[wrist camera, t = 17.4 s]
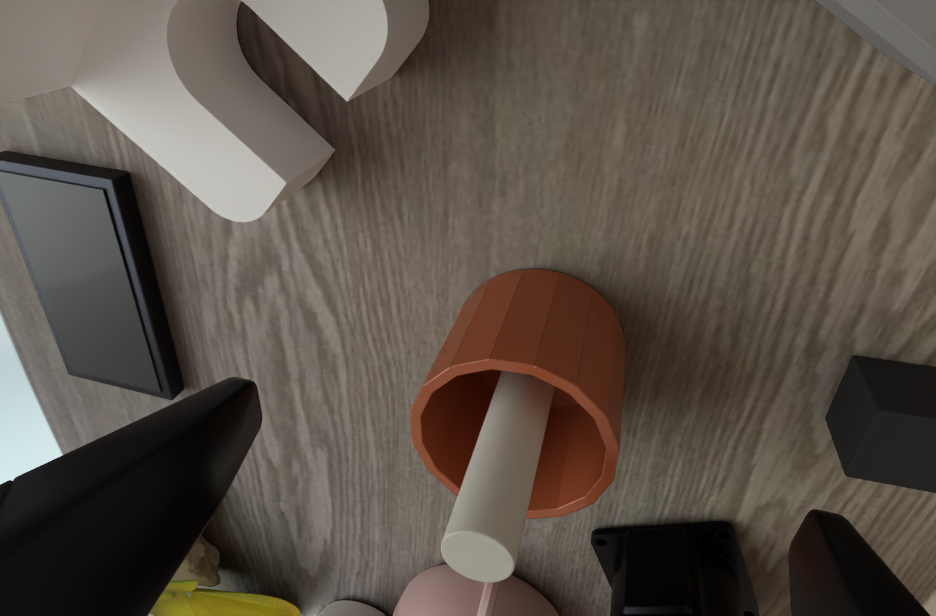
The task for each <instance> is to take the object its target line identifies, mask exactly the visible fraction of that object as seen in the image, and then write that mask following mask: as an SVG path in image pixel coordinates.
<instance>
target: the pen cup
mask: <svg viewBox="0 0 936 616" xmlns="http://www.w3.org/2000/svg"><path fill="white" fill-rule="evenodd" d="M625 359H626V346H625V337H624V333H623V329H622V326H621V323H620V321H619V319H618V317H617V315H616V313H615V312H614V310H613V309H612V307H611V306H610V305H609V304H608V302H607V301H606V300H605V299H604V298H603V297H602V296H601V295H600V294H599V293H598V292H597V291H595V290H594V289H592V288H591V287H590V286H588V285H587V284H585V283H583V282H581V281H580V280H578V279H576V278H573V277H571V276H569V275H566V274H563V273H559V272H556V271H550V270H544V269H520V270H515V271H510V272H507V273H503V274H500V275H498V276H496V277H494V278H492V279H490V280H488V281H486V282H485V283H484V284H482V285H481V286H480V287H478V288H477V289H476V290H475V291H474V292H473V293H472V295H471V296H470V297H469V298H468V299H467V301H466V302H465V304H464V306H463V308H462V310H461V312H460V314H459V315H458V317H457V319H456V321H455V323H454V325H453V327H452V329H451V331H450V333H449V335H448V337H447V339H446V341H445V343H444V345H443V347H442V348H441V350H440V352H439V354H438V356H437V358H436V360H435V362H434V364H433V366H432V368H431V370H430V372H429V374H428V376H427V378H426V379H425V381H424V383H423V385H422V387H421V389H420V392H419V394H418V396H417V398H416V400H415V402H414V404H413V406H412V409H411V411H410V420H411V432H412V442H413V445H414V446H415V448H416V450H417V452H418V453H419V455H420V457H421V459H422V461H423V462H424V464H425V466H426V468H427V469H428V471H429V472H430V473H431V474H432V475H433V476H435V477H436V478H437V479H438V480H439V481H440V482H441V483H442V484H444V485H445V486H446V487H447V488H448V489H449V490H450V491H451V492H453V493H454V494H456V496H458V494H459V491H460V488H461V486H462V483H463V480H464V477H465V474H466V471H467V468H468V466H469V463H470V460H471V457H472V454H473V451H474V449H475V446H476V443H477V440H478V437H479V434H480V431H481V429H482V426H483V423H484V420H485V417H486V414H487V412H488V409H489V406H490V403H491V400H492V397H493V394H494V392H495V389H496V386H497V383H498V380H499V377H500V375H501V372H502V371H508V372H515V373H521V374H528V375H533V376H535V377H537V378H539V379H541V380H543V381H545V382H547V383H549V384H551V385H553V386H555V389H554V393H553V398H552V402H551V407H550V411H549V416H548V420H547V425H546V429H545V434H544V438H543V443H542V447H541V452H540V456H539V461H538V465H537V470H536V474H535V479H534V483H533V488H532V492H531V497H530V501H529V506H528V511H527V515H526V519H536V518H549V517H562V516H565V515H567V514H570V513H572V512H574V511H577V510H579V509H581V508H584V507H586V506H588V505H590V504H593V503H594V502H595V501H596V500H597V499H598V498H599V496H600V495H601V494H602V493H603V492H604V491H605V489H606V488H607V487H608V486H609V485H610V484H611V482H612V481H613V480H614V478H615V472H616V466H617V460H618V453H619V444H620V430H621V416H622V401H623V387H624V373H625Z"/></svg>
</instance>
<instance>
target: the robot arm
mask: <svg viewBox="0 0 936 616" xmlns="http://www.w3.org/2000/svg"><path fill="white" fill-rule="evenodd" d="M261 423H262V411H261V405H260V400H259V394H258V389H257V385H256V384H255V383H254V382H253V381H251V380H247V379H242V378H238V377H230V378H227V379H225V380H223V381H221V382H219V383H217V384H214V385H212V386H210V387H208V388H206V389H204V390H202V391H199V392H197V393H195V394H193V395H191V396H189V397H187V398H185V399H182V400H180V401H178V402H176V403H174V404H172V405H170V406H167V407H165V408H163V409H161V410H159V411H157V412H155V413H153V414H150V415H148V416H146V417H144V418H142V419H140V420H138V421H135V422H133V423H131V424H129V425H127V426H125V427H123V428H120V429H118V430H116V431H114V432H112V433H110V434H108V435H106V436H103V437H101V438H99V439H97V440H95V441H93V442H91V443H88V444H86V445H84V446H82V447H80V448H78V449H76V450H73V451H71V452H69V453H67V454H65V455H63V456H61V457H59V458H56V459H54V460H52V461H50V462H48V463H46V464H44V465H41V466H39V467H37V468H35V469H33V470H31V471H29V472H26V473H24V474H22V475H20V476H18V477H16V478H15V479H14V481H11V480H10V481H7V482H5V483H3V484H1V485H0V616H148V614H149V613H150V611H151V610H152V608H153V607H154V605H155V604H156V602H157V601H158V599H159V598H160V596H161V595H162V593H163V592H164V590H165V588H166V587H167V585H168V584H169V582H170V581H171V579H172V578H173V576H174V575H175V573H176V572H177V570H178V569H179V567H180V566H181V564H182V563H183V561H184V560H185V558H186V557H187V555H188V553H189V552H190V550H191V549H192V547H193V546H194V544H195V543H196V541H197V540H198V538H199V537H200V535H201V534H202V532H203V531H204V529H205V528H206V526H207V525H208V523H209V521H210V520H211V518H212V517H213V515H214V514H215V512H216V510H217V509H218V507H219V506H220V504H221V502H222V500H223V499H224V497H225V495H226V493H227V491H228V489H229V488H230V486H231V484H232V482H233V480H234V478H235V476H236V474H237V472H238V470H239V468H240V466H241V464H242V462H243V460H244V458H245V457H246V455H247V453H248V451H249V449H250V447H251V445H252V443H253V441H254V439H255V437H256V435H257V433H258V431H259V429H260V427H261ZM721 532H724V533H721ZM591 544H592V546H593V548H594V551H595V553H596V555H597V557H598V560H599V562H600V564H601V566H602V568H603V571H604V573H605V575H606V577H607V580H608V582H609V584H610V586H611V589H612V597H611V612H610V616H759V610H758V605H757V602H756V598H755V595H754V592H753V588H752V585H751V582H750V578H749V575H748V572H747V568H746V565H745V562H744V558H743V555H742V552H741V548H740V545H739V542H738V538H737V535H736V532H735V528H734V527H733V525H732V524H730V523H728V522H725V521H715V522H699V523H682V524H666V525H650V526H634V527H618V528H602V529H595V530H594V531H593V532H592V534H591ZM789 577H790V596H791V614H792V616H930V615H929V614H928V612H927V611H926V610H925V609H924V608H923V607H922V606H921V604H920V603H919V602H918V601H917V600H916V599H915V597H914V596H913V595H912V594H911V593H910V592H909V591H908V589H907V588H906V587H905V586H904V585H903V584H902V582H901V581H900V580H899V579H898V578H897V577H896V576H895V574H894V573H893V572H892V571H891V570H890V569H889V567H888V566H887V565H886V564H885V563H884V562H883V560H882V559H881V558H880V557H879V556H878V555H877V554H876V552H875V551H874V550H873V549H872V548H871V547H870V545H869V544H868V543H867V542H866V541H865V540H864V539H863V537H862V536H861V535H860V534H859V533H858V532H857V530H856V529H855V528H854V527H853V526H852V525H851V523H850V522H849V521H848V520H847V519H846V518H844V517H843V516H841V515H839V514H835V513H831V512H826V511H822V510H817V509H813V510H811V511H810V512H808V514H807V515H806V517H805V519H804V520H803V522H802V524H801V526H800V528H799V529H798V531H797V533H796V535H795V536H794V538H793V540H792V542H791V545H790V548H789Z"/></svg>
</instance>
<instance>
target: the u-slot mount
mask: <svg viewBox="0 0 936 616" xmlns="http://www.w3.org/2000/svg"><path fill="white" fill-rule="evenodd" d="M241 1H242V2H244V3H245V4H246V5H247V6H249V7H250V8H251V9H252V10H253V11H254V12H255V13H256V14H257V15H258V16H259V17H260V18H261V19H262V20H263V21H264V22H265V23H266V24H267V25H268V26H269V27H270V28H271V29H272V30H273V31H275V32H276V33H277V34H278V35H279V36H280V37H281V38H282V39H283V40H284V41H285V42H286V43H287V44H288V45H289V46H290V47H291V48H292V49H293V50H294V51H295V52H296V53H297V54H298V55H299V56H300V57H301V58H302V59H303V60H304V61H305V62H307V63H308V64H309V65H310V66H311V67H312V68H313V69H314V70H315V71H316V72H317V73H318V74H319V75H320V76H321V77H322V78H323V79H324V80H325V81H326V82H327V83H328V84H329V85H330V86H331V87H332V88H333V89H334V90H335V91H336V92H337V93H338V94H340V95H341V96H342V97H343V98H344V99H345V100H346V101H347V102H348V101H350V100H351V99H353V98H355V97H357V96H359V95H361V94H362V93H364V92H366V91H368V90H370V89H372V88H373V87H375V86H377V85H379V84H381V83H383V82H385V81H386V80H388V79H390V78H392V77H393V75H394V74H395V73H396V71H397V70H398V69H399V68H400V66H401V65H402V64H403V62H404V61H405V60H406V59H407V57H408V56H409V55H410V53H411V52H412V51H413V50H414V48H415V47H416V46H417V44H418V43H419V42H420V40H421V39H422V37H423V35H424V33H425V31H426V28H427V25H428V21H429V1H428V0H0V103H9V102H13V101H17V100H21V99H25V98H29V97H32V96H36V95H40V94H44V93H48V92H52V91H55V90H59V89H63V88H67V87H72V88H73V89H74V90H75V91H76V92H77V93H79V94H80V95H81V96H82V97H83V98H84V99H85V100H87V101H88V102H89V103H90V104H91V105H92V106H93V107H95V108H96V109H97V110H98V111H99V112H100V113H101V114H103V115H104V116H105V117H106V118H107V119H108V120H109V121H111V122H112V123H113V124H114V125H115V126H116V127H117V128H119V129H120V130H121V131H122V132H123V133H124V134H126V135H127V136H128V137H129V138H130V139H131V140H132V141H134V142H135V143H136V144H137V145H138V146H139V147H140V148H142V149H143V150H144V151H145V152H146V153H147V154H148V155H150V156H151V157H152V158H153V159H154V160H155V161H156V162H158V163H159V164H160V165H161V166H162V167H163V168H164V169H166V170H167V171H168V172H169V173H170V174H171V175H172V176H174V177H175V178H176V179H177V180H178V181H179V182H180V183H182V184H183V185H184V186H185V187H186V188H187V189H188V190H190V191H191V192H192V193H193V194H194V195H195V196H197V197H198V198H199V199H200V200H201V201H202V202H203V203H205V204H206V205H207V206H208V207H209V208H210V209H212V210H213V211H214V212H215V213H217V214H219V215H220V216H222V217H224V218H226V219H229V220H232V221H236V222H249V221H253V220H256V219H258V218H259V217H261V216H262V215H264V214H265V213H266V212H268V211H269V210H271V209H272V208H273V207H275V206H276V205H278V204H279V203H280V202H282V201H283V200H285V199H286V198H287V197H289V196H290V195H292V194H293V193H294V192H296V191H297V190H299V189H300V188H301V187H303V186H304V185H306V184H307V183H308V182H310V181H311V180H312V179H313V178H314V177H315V176H316V175H317V174H318V172H319V171H320V170H321V169H322V167H323V166H324V165H325V163H326V162H327V161H328V159H329V158H330V157H331V156H332V154H333V153H334V152H335V149H334V148H333V147H332V146H331V145H330V144H329V143H328V142H327V141H326V140H325V139H324V138H323V137H321V136H320V135H319V134H318V133H317V132H316V131H315V130H314V129H313V128H312V127H311V126H310V125H309V124H308V123H307V122H306V121H305V120H303V119H302V118H301V117H300V116H299V115H298V114H297V113H296V112H295V111H294V110H293V109H292V108H291V107H290V106H289V105H288V104H286V103H285V102H284V101H283V100H282V99H281V98H280V97H279V96H278V95H277V94H276V93H275V92H274V91H273V90H272V89H271V88H270V87H268V86H267V85H266V84H265V83H264V82H263V81H262V80H261V79H260V78H259V77H258V76H257V75H256V73H255V72H254V71H253V70H252V69H251V68H250V66H249V64H248V62H247V61H246V59H245V57H244V55H243V53H242V50H241V47H240V44H239V41H238V36H237V28H236V22H237V12H238V9H239V6H240V3H241Z"/></svg>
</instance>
